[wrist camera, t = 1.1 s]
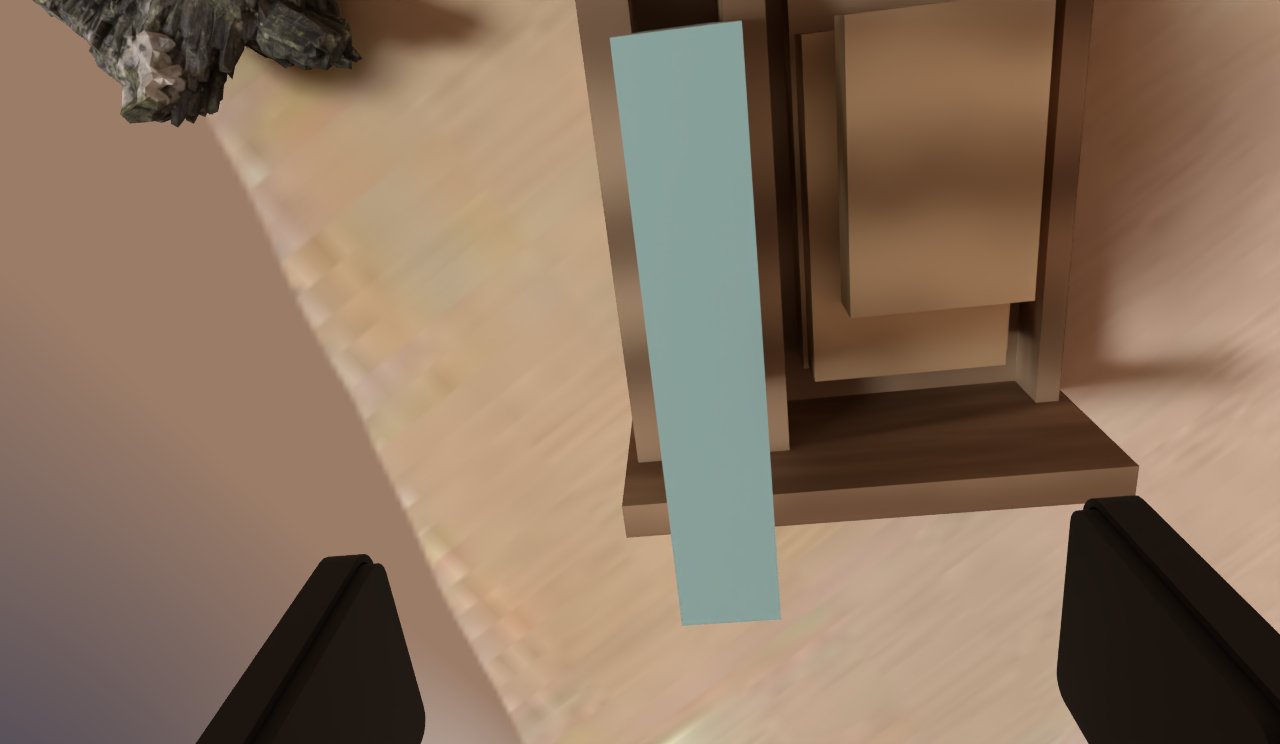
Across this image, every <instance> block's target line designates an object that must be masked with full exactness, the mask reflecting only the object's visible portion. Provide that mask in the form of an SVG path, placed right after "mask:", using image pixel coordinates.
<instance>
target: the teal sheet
mask: <svg viewBox="0 0 1280 744" xmlns="http://www.w3.org/2000/svg"><path fill="white" fill-rule="evenodd" d="M610 45H611V53H612V61H613V69H614V78H615V86H616V94H617V102H618V110H619V118H620V126H621V134H622V142H623V150H624V158H625V167H626V175H627V183H628V191H629V199H630V207H631V215H632V223H633V231H634V239H635V247H636V255H637V264H638V272H639V280H640V288H641V296H642V304H643V312H644V320H645V328H646V336H647V344H648V352H649V361H650V369H651V377H652V385H653V393H654V401H655V409H656V417H657V425H658V433H659V441H660V450H661V458H662V466H663V474H664V482H665V490H666V498H667V506H668V514H669V522H670V530H671V538H672V547H673V555H674V563H675V571H676V579H677V587H678V595H679V603H680V611H681V619H682V626H686V625H701V624H716V623H732V622H747V621H763V620H778V619H781V614H780V599H779V583H778V568H777V553H776V537H775V522H774V507H773V491H772V476H771V461H770V445H769V430H768V415H767V399H766V384H765V369H764V353H763V338H762V323H761V307H760V292H759V277H758V261H757V246H756V231H755V215H754V200H753V185H752V169H751V154H750V139H749V123H748V108H747V93H746V77H745V62H744V47H743V31H742V21H728V22H711V23H702V24H694V25H686V26H678V27H671V28H663V29H655V30H647V31H642V32H637V33H632V34H626V35H621V36H616V37H611V38H610Z"/></svg>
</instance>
